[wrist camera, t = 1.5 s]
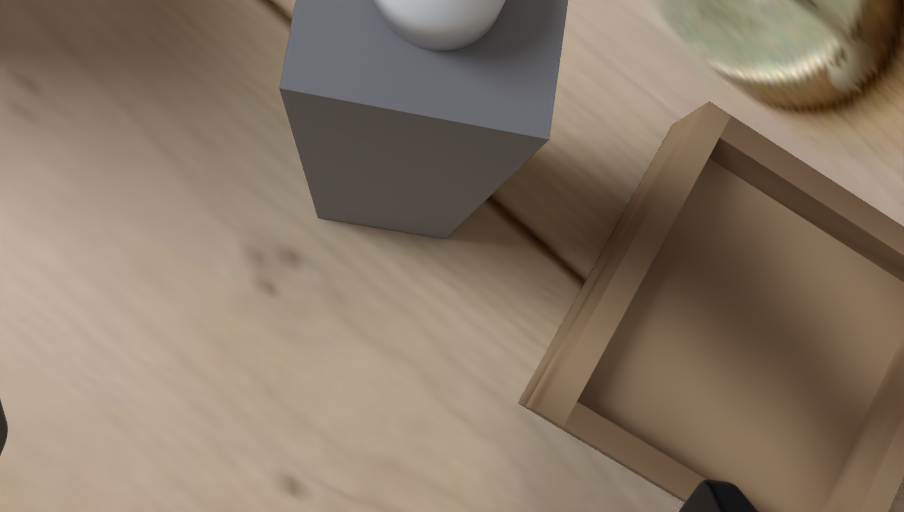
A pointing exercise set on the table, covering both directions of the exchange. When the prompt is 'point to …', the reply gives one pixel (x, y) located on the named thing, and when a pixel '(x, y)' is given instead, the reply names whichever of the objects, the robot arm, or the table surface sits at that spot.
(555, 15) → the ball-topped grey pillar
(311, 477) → the table surface
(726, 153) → the wooden tray
